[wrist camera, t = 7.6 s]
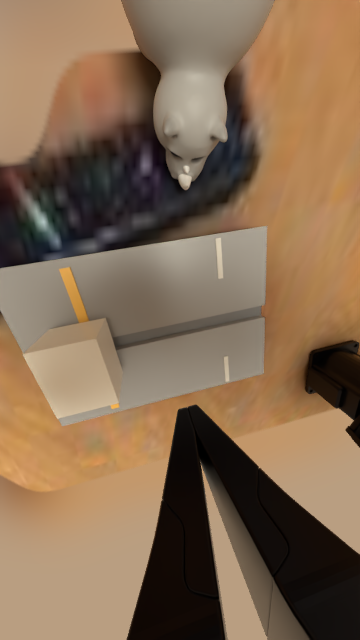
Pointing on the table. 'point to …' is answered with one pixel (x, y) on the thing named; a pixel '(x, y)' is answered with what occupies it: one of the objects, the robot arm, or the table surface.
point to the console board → (154, 311)
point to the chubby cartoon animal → (193, 69)
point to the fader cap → (77, 367)
